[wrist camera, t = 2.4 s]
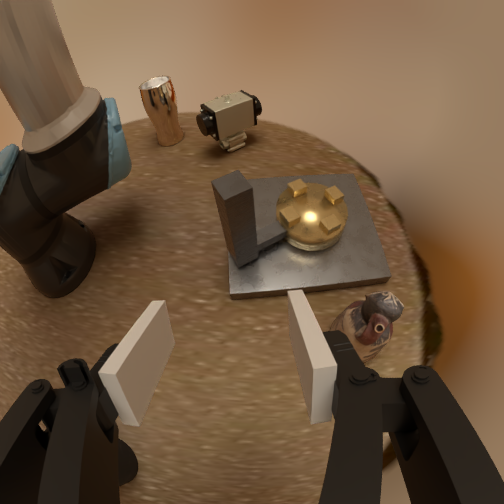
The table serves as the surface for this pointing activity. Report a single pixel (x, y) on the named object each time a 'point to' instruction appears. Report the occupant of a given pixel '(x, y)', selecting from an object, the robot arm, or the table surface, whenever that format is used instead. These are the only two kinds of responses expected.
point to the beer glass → (162, 109)
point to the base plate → (311, 262)
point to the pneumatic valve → (229, 118)
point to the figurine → (369, 322)
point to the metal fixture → (279, 217)
